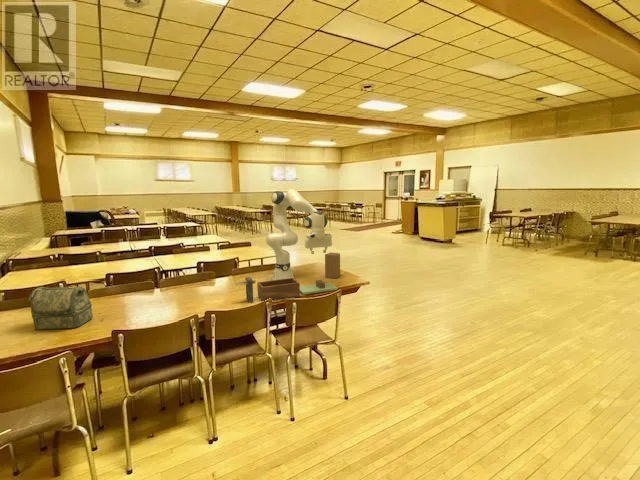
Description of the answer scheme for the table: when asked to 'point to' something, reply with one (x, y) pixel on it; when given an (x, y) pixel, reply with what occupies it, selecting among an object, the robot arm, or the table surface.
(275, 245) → the robot arm
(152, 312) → the table surface
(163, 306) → the table surface
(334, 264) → the wooden block
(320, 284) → the lid
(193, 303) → the table surface
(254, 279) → the bolt
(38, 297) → the lunch bag
